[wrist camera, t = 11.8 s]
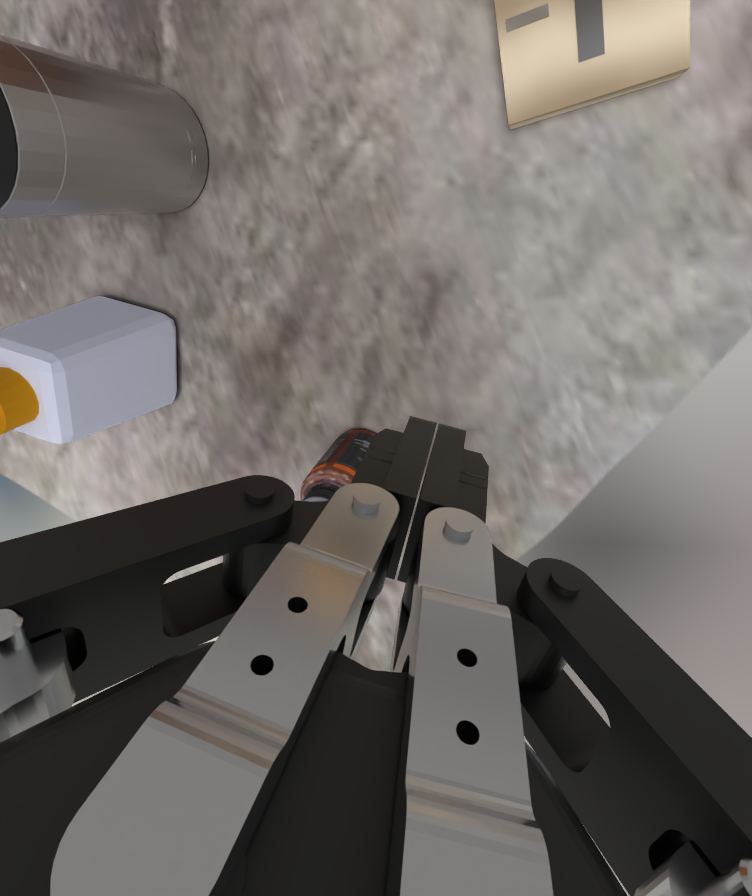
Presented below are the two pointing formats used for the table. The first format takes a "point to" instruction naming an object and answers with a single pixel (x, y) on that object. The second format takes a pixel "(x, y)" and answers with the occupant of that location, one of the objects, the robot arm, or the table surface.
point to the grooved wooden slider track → (586, 51)
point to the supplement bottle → (336, 466)
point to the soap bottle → (85, 369)
